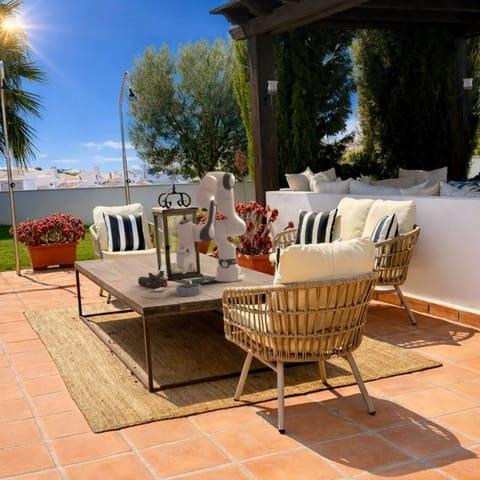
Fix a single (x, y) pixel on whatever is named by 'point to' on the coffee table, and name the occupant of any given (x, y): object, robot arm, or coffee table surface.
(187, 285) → the cell
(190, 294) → the blue-gray round bowl
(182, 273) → the robot arm
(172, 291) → the cradle
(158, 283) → the laser sight
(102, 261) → the coffee table surface
